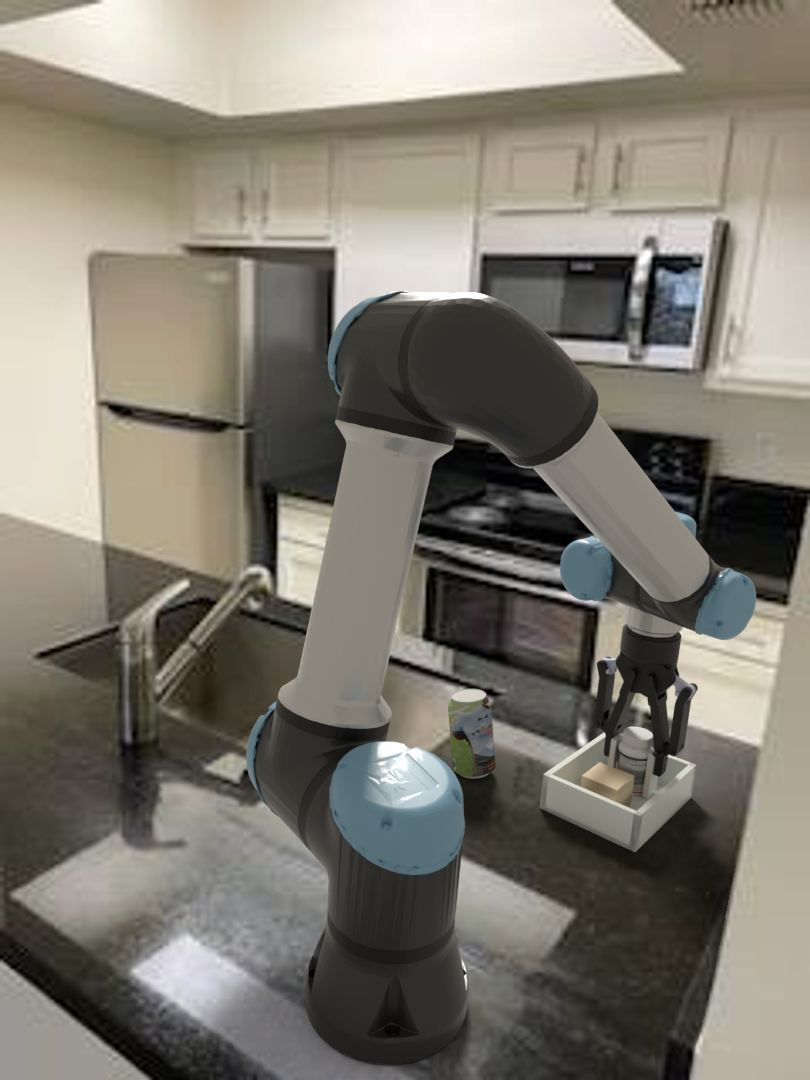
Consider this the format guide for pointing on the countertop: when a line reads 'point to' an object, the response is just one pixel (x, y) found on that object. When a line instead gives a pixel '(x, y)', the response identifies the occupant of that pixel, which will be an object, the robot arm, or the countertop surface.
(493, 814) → the countertop surface
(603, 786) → the cube
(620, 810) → the tote
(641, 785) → the pill bottle
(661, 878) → the countertop surface
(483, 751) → the beverage can
